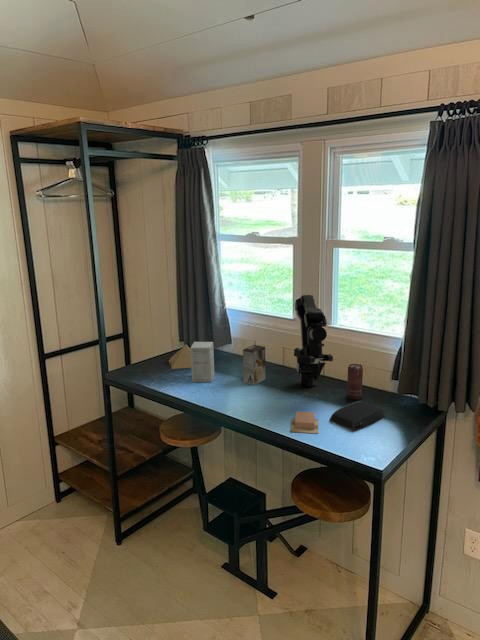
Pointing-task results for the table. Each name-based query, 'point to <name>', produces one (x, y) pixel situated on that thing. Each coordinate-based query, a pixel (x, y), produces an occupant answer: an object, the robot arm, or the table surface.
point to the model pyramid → (181, 358)
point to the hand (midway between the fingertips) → (315, 380)
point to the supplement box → (202, 361)
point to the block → (305, 420)
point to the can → (354, 381)
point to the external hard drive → (357, 415)
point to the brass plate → (304, 430)
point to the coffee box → (254, 364)
